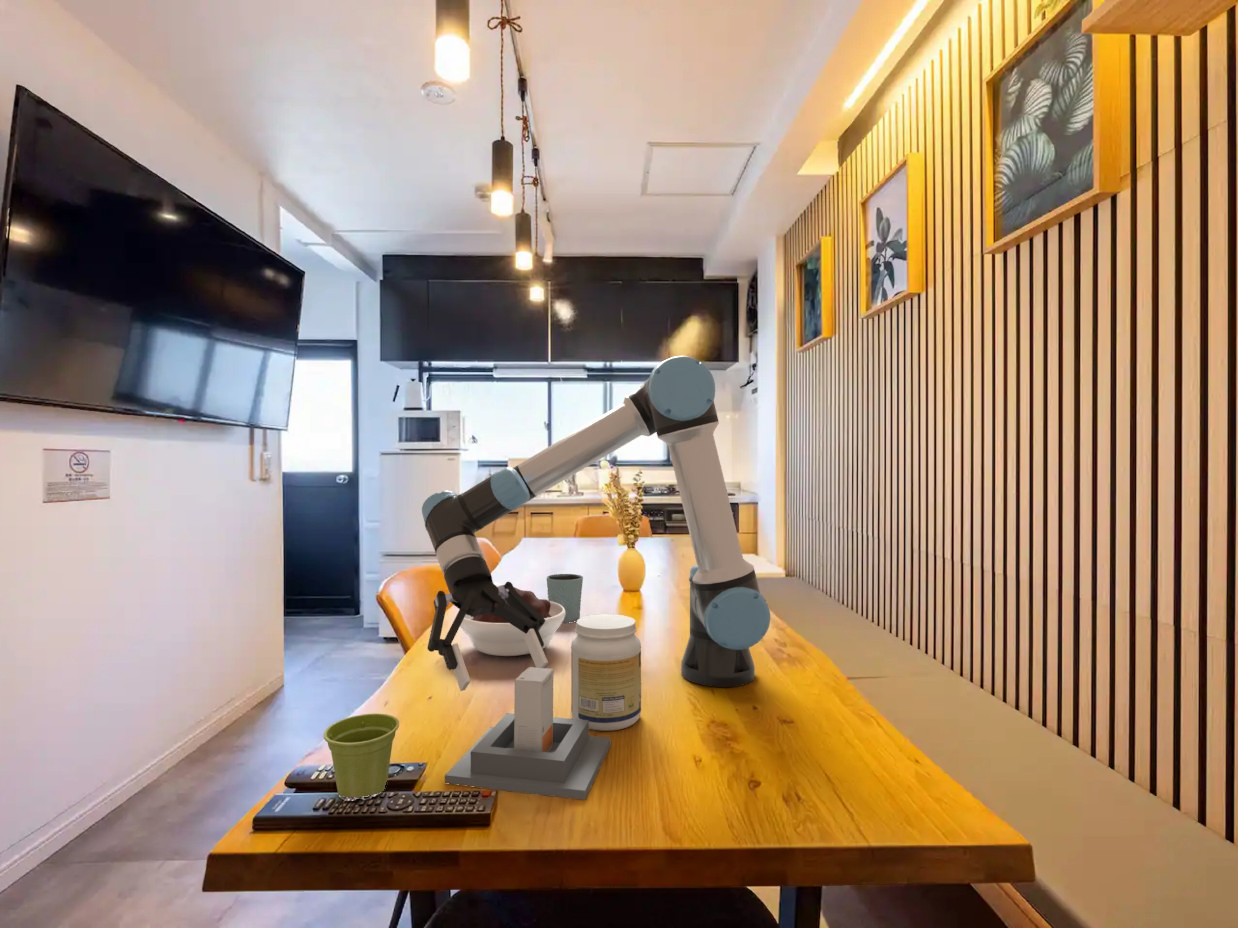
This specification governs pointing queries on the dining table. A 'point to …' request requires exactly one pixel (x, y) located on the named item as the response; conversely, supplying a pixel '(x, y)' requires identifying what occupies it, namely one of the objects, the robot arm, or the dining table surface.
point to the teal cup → (566, 594)
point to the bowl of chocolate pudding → (511, 628)
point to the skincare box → (534, 710)
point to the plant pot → (361, 752)
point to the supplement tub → (606, 672)
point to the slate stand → (534, 761)
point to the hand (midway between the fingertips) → (506, 676)
